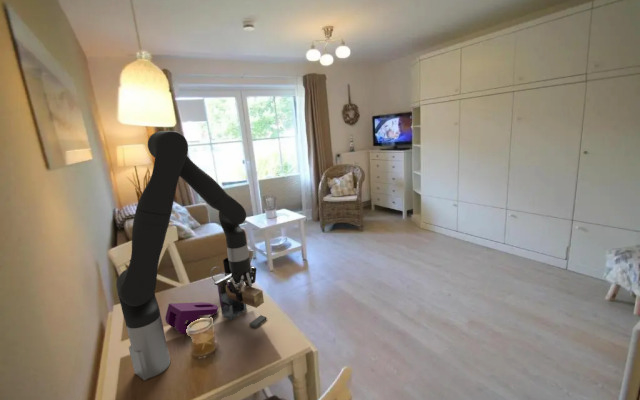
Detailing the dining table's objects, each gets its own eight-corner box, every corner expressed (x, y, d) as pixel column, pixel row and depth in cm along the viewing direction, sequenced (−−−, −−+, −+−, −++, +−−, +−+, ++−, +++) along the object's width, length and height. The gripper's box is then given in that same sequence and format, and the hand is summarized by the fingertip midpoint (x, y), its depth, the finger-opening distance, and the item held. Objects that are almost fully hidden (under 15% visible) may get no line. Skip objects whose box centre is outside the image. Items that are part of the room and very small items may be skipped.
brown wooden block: (256, 307, 112) (254, 295, 111) (227, 297, 121) (225, 285, 120) (263, 302, 115) (262, 290, 114) (235, 292, 124) (233, 281, 123)
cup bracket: (230, 321, 119) (225, 286, 116) (219, 316, 123) (214, 282, 119) (247, 309, 126) (243, 276, 123) (237, 305, 130) (232, 272, 126)
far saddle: (255, 328, 114) (255, 325, 113) (249, 325, 115) (249, 323, 115) (266, 319, 118) (266, 317, 118) (261, 317, 120) (260, 315, 120)
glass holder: (248, 289, 142) (244, 259, 139) (217, 300, 134) (212, 269, 131) (241, 282, 149) (237, 254, 146) (212, 293, 141) (207, 262, 138)
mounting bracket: (205, 322, 130) (162, 326, 116) (210, 302, 131) (168, 303, 117) (217, 330, 124) (175, 335, 110) (223, 308, 125) (181, 311, 111)
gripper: (230, 266, 106) (237, 310, 110) (259, 251, 118) (264, 291, 122) (216, 262, 111) (223, 304, 115) (246, 248, 122) (251, 287, 126)
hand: (244, 297), depth 118 cm, fingers closed on brown wooden block, 4 cm apart
